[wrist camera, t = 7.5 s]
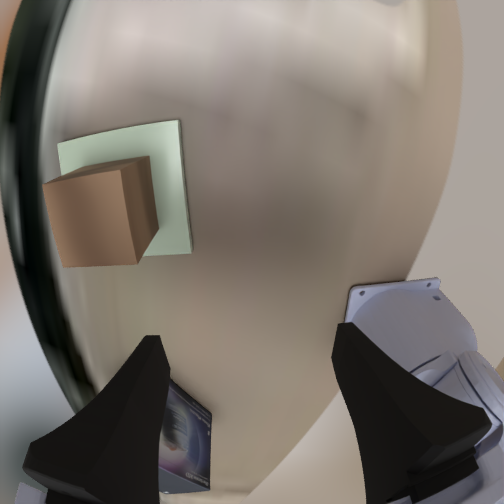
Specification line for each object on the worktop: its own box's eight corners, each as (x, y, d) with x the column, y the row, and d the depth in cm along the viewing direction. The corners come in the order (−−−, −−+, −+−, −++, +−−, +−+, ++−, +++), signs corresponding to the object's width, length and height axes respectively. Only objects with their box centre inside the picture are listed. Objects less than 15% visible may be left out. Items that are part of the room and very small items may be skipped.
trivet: (180, 119, 17) (177, 119, 16) (192, 248, 21) (191, 253, 20) (63, 142, 16) (57, 143, 16) (85, 255, 20) (81, 259, 20)
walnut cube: (149, 155, 17) (120, 169, 12) (159, 228, 19) (137, 264, 14) (83, 166, 17) (42, 184, 12) (95, 234, 19) (63, 267, 14)
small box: (216, 413, 30) (214, 492, 21) (174, 423, 31) (166, 495, 22) (155, 361, 26) (134, 455, 16) (114, 377, 27) (88, 457, 17)
